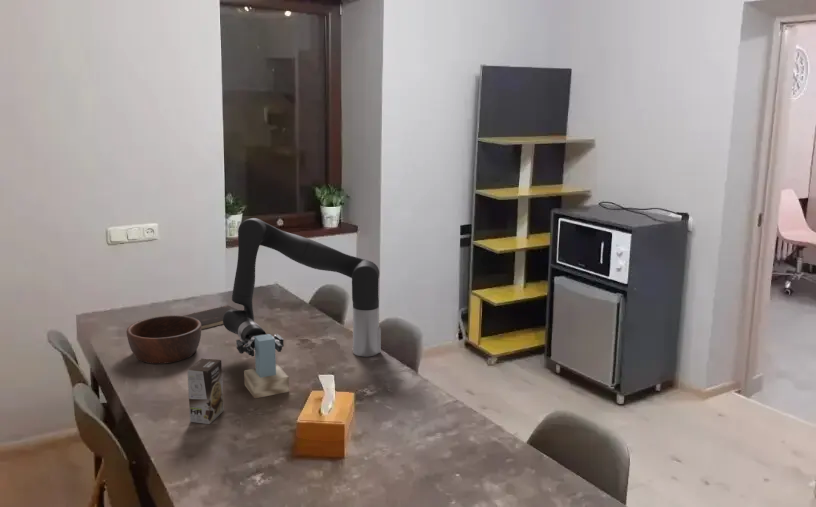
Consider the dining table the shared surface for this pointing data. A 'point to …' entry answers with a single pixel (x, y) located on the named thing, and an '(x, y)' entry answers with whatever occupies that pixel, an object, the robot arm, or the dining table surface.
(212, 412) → the coffee box
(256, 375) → the birch block
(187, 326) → the wooden bowl
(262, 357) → the blue pillar
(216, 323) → the hardcover book
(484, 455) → the dining table surface
